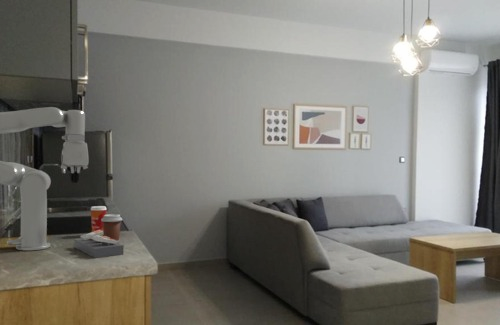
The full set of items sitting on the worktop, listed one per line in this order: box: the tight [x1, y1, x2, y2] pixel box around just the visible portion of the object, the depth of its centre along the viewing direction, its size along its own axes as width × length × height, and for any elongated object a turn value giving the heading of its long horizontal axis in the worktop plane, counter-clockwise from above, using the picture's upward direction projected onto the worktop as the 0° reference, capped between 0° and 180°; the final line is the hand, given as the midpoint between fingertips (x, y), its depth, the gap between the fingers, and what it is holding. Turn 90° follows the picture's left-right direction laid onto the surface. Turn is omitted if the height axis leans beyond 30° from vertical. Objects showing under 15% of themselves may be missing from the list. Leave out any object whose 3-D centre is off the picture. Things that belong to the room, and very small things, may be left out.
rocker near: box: [93, 236, 118, 244], centre depth 162 cm, size 8×4×1 cm, turn 130°
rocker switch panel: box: [73, 238, 125, 259], centre depth 168 cm, size 11×24×4 cm, turn 40°
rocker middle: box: [86, 233, 110, 239], centre depth 168 cm, size 8×4×1 cm, turn 130°
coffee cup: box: [101, 213, 123, 243], centre depth 188 cm, size 9×9×12 cm
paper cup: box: [90, 205, 107, 236], centre depth 203 cm, size 8×8×14 cm
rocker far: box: [80, 230, 104, 240], centre depth 173 cm, size 8×4×1 cm, turn 131°
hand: (74, 182), depth 176 cm, fingers closed
